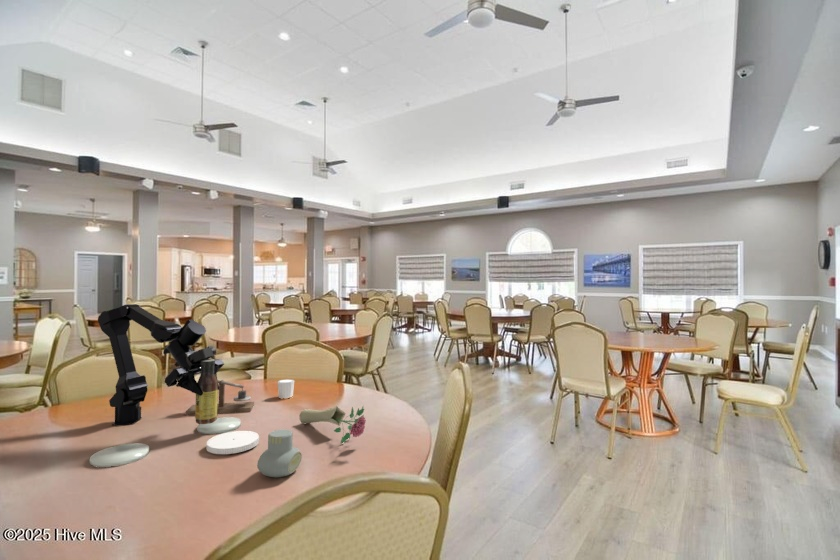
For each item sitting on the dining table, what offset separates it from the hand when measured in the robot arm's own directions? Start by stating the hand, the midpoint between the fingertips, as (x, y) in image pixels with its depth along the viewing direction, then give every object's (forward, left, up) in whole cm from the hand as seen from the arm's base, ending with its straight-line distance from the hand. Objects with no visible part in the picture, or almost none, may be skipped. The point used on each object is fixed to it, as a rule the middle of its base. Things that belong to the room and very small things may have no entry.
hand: (210, 392), depth 129 cm
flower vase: (+38, -9, -14) cm, 42 cm away
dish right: (+1, +6, -13) cm, 15 cm away
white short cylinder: (+20, +40, -13) cm, 46 cm away
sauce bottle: (-1, +1, -10) cm, 10 cm away
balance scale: (-2, +26, -13) cm, 29 cm away
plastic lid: (+10, -12, -14) cm, 21 cm away
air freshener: (+25, -32, -13) cm, 43 cm away
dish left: (-19, -14, -13) cm, 27 cm away
